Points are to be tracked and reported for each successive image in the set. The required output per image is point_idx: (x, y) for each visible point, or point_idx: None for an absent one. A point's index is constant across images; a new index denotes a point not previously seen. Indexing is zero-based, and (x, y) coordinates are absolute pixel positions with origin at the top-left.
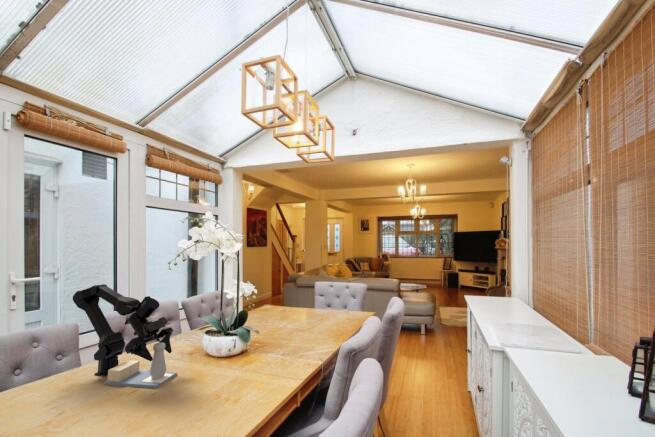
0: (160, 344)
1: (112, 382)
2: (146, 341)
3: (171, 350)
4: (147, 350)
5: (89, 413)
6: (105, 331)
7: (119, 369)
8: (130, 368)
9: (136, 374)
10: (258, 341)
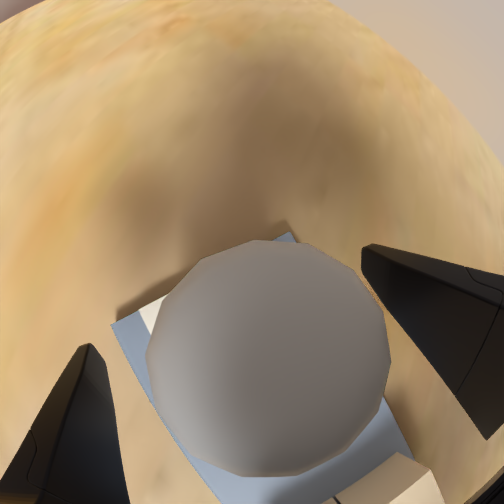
0: (298, 271)
1: (415, 461)
2: (492, 493)
3: (75, 352)
4: (470, 281)
5: (496, 237)
6: None
7: (421, 492)
8: None
9: (298, 496)
10: None
